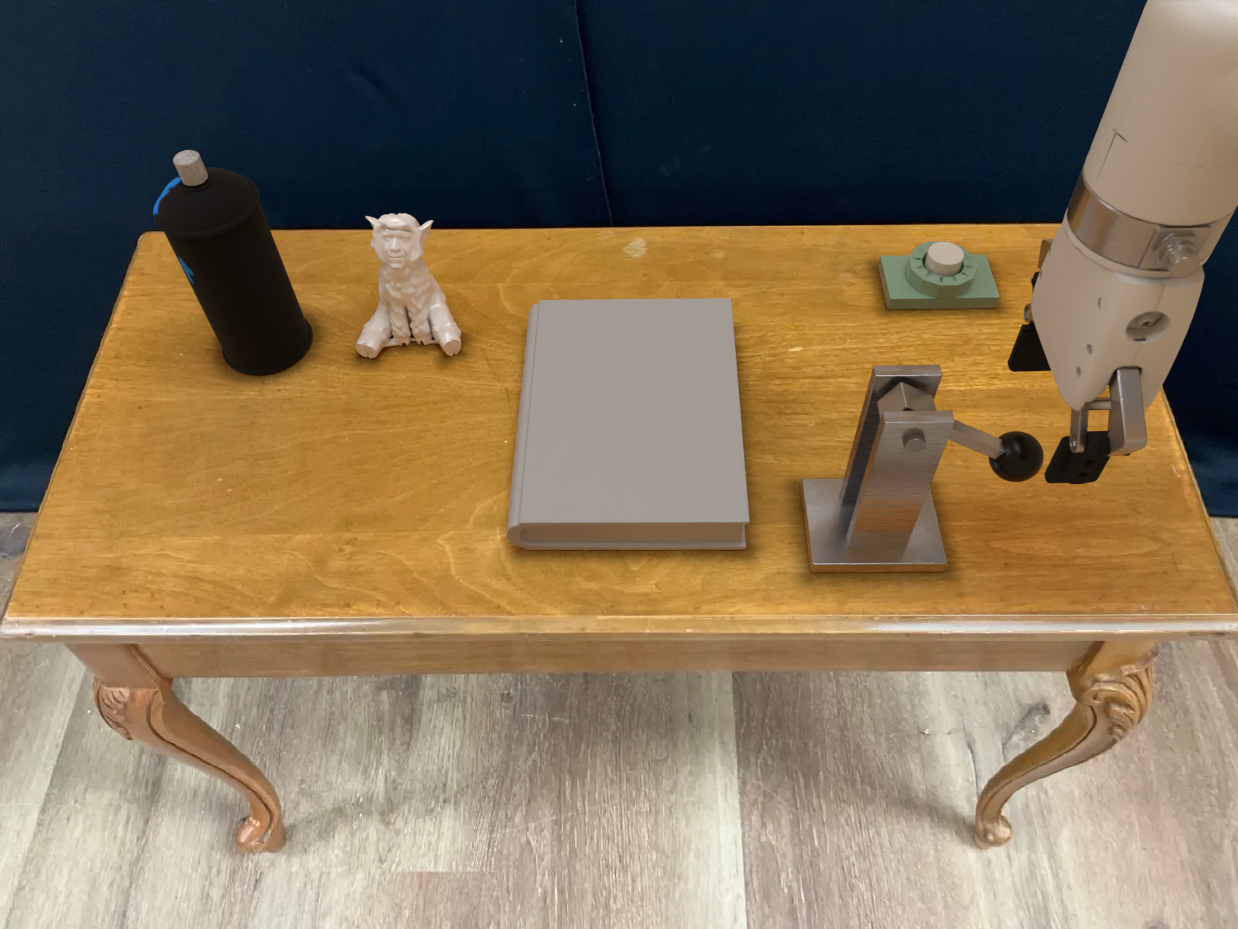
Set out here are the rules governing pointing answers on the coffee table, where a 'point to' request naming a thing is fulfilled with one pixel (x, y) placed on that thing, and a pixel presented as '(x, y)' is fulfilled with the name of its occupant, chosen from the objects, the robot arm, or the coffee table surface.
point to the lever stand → (883, 487)
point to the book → (629, 428)
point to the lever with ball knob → (976, 437)
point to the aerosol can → (233, 266)
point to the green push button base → (936, 282)
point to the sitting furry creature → (406, 291)
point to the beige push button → (944, 259)
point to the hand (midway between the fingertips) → (1048, 421)
